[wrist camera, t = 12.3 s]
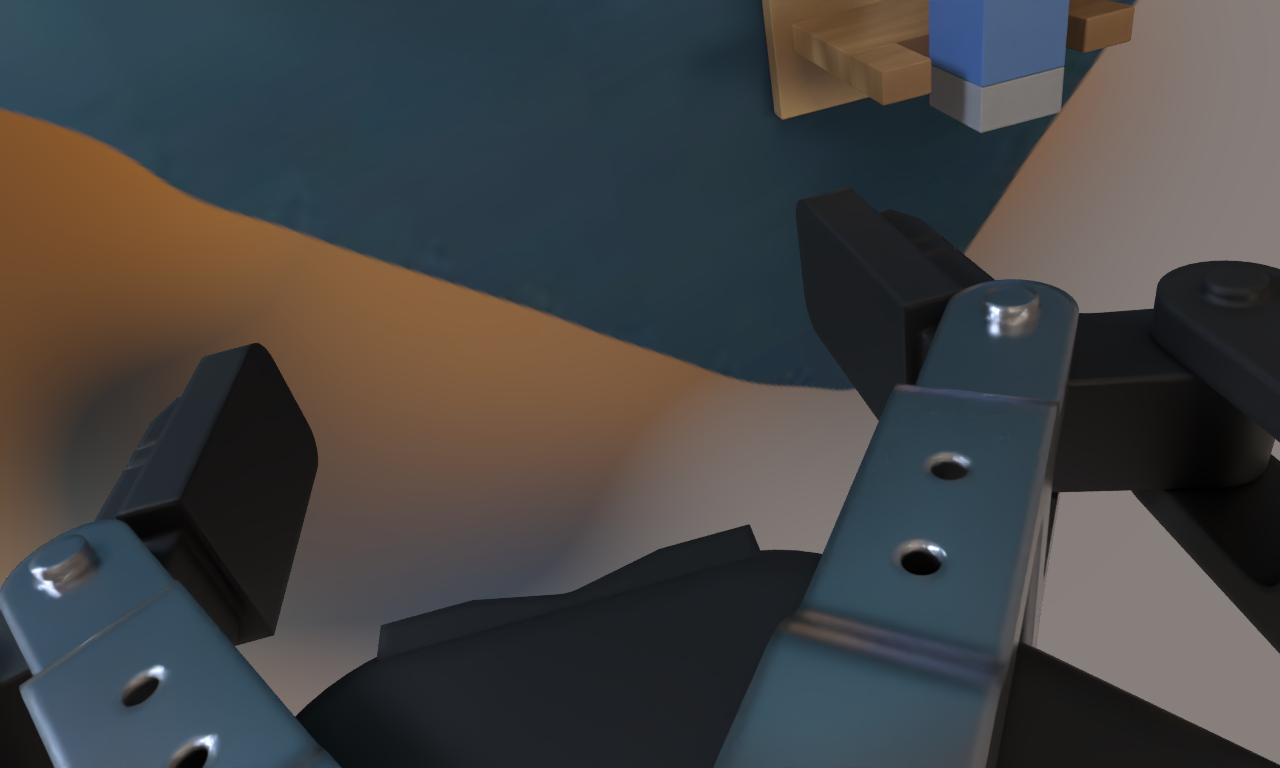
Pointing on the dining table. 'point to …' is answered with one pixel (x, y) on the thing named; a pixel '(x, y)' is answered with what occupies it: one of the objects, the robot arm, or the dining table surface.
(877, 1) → the holder
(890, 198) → the dining table surface
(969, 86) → the handle
